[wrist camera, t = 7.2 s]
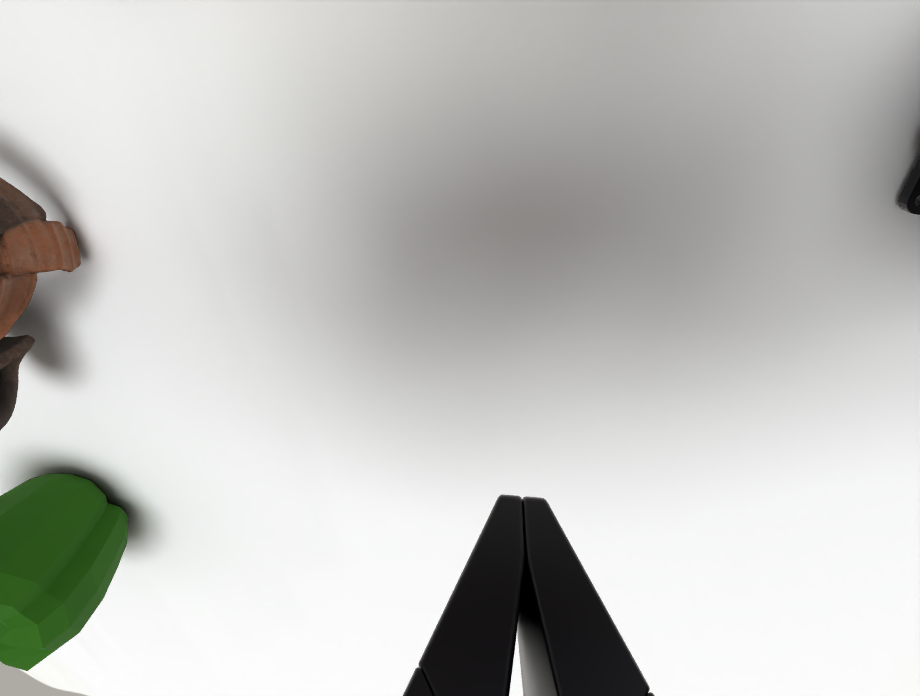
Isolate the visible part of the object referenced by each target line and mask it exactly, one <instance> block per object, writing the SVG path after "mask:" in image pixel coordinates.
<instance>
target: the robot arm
mask: <svg viewBox="0 0 920 696" xmlns="http://www.w3.org/2000/svg"><path fill="white" fill-rule="evenodd" d="M919 195H920V157H919V159H918V161H917V163H916V165H915V167H914V169H913V171H912V173H911V175H910V177H909V179H908V181H907V183H906V185H905V187H904V189H903V191H902V193H901V195H900V198H899V206H900V207H901V208H902V209H903V210H905V211H907V212H910V213H913V214H918V215H920V201H919V202H917V203H915V201H916V198H917V197H918V196H919ZM517 632H518V643H519V654H520V664H521V674H522V685H523V695H524V696H654V694H653V693H651V692H650V693H648V692H649V689H650V688H649V686H648V684H647V682H646V680H645V678H644V676H643V675H642V673H641V671H640V669H639V667H638V666H637V664H636V662H635V660H634V658H633V657H632V655H631V653H630V651H629V649H628V647H627V646H626V644H625V642H624V640H623V638H622V637H621V635H620V633H619V631H618V629H617V628H616V626H615V624H614V622H613V620H612V618H611V617H610V615H609V613H608V611H607V609H606V608H605V606H604V604H603V602H602V600H601V598H600V597H599V595H598V593H597V591H596V589H595V588H594V586H593V584H592V582H591V580H590V579H589V577H588V575H587V573H586V571H585V569H584V568H583V566H582V564H581V562H580V560H579V559H578V557H577V555H576V553H575V551H574V550H573V548H572V546H571V544H570V542H569V540H568V539H567V537H566V535H565V533H564V531H563V530H562V528H561V526H560V524H559V522H558V521H557V519H556V517H555V515H554V513H553V511H552V510H551V508H550V506H549V504H548V503H547V501H546V500H545V499H544V498H537V497H524V498H523V499H521V497H520V496H513V495H500V496H499V497H498V499H497V501H496V503H495V505H494V507H493V509H492V511H491V513H490V516H489V518H488V520H487V522H486V524H485V526H484V528H483V530H482V532H481V534H480V536H479V538H478V541H477V543H476V545H475V547H474V549H473V551H472V553H471V555H470V557H469V559H468V561H467V564H466V566H465V568H464V570H463V572H462V574H461V576H460V578H459V580H458V582H457V584H456V586H455V589H454V591H453V593H452V595H451V597H450V599H449V601H448V603H447V605H446V607H445V609H444V611H443V614H442V616H441V618H440V620H439V622H438V624H437V626H436V628H435V630H434V632H433V634H432V637H431V639H430V641H429V643H428V645H427V647H426V649H425V651H424V653H423V655H422V657H421V659H420V662H419V668H416V669H415V671H414V673H413V675H412V678H411V680H410V682H409V684H408V686H407V688H406V690H405V692H404V694H403V696H509V691H510V683H511V674H512V666H513V658H514V650H515V642H516V633H517Z"/></svg>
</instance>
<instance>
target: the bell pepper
mask: <svg viewBox="0 0 920 696" xmlns="http://www.w3.org/2000/svg"><path fill="white" fill-rule="evenodd" d="M127 530H128V515H127V514H126V513H125V512H124V511H123V510H122V508H121V507H118V506H115V505H112V504H109V503H107V500H106V496H105V495H104V494H103V493H102V492H101V491H100V490H99V488H98V487H97V486H96V485H95V484H94V483H93V482H92V481H90V480H87V479H84V478H81V477H78V476H75V475H72V474H46V475H42V476H39V477H36V478H32V479H29V480H28V481H26V482H24V483H22V484H21V485H19V486H17V487H15V488H14V489H12V490H10V491H8V492H7V493H5V494H3V495H1V496H0V661H1V662H2V663H4V664H5V665H8V666H12V667H15V668H19V669H22V670H26V671H28V670H29V669H31V668H32V667H33V666H35V665H36V664H38V663H39V662H40V661H42V660H43V659H44V658H46V657H47V656H48V655H50V654H51V653H53V652H54V651H55V650H57V649H58V648H59V647H61V646H62V645H63V644H65V643H66V642H67V641H69V640H70V639H72V638H73V637H74V636H76V635H77V634H78V633H79V632H80V631H81V630H82V628H83V627H84V625H85V624H86V622H87V621H88V620H89V618H90V617H91V615H92V614H93V613H94V611H95V610H96V608H97V607H98V605H99V604H100V603H101V601H102V600H103V598H104V596H105V594H106V592H107V589H108V587H109V585H110V583H111V581H112V578H113V576H114V574H115V572H116V570H117V567H118V565H119V562H120V560H121V557H122V554H123V552H124V549H125V547H126V544H127Z"/></svg>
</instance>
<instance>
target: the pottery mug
mask: <svg viewBox="0 0 920 696" xmlns="http://www.w3.org/2000/svg"><path fill="white" fill-rule="evenodd" d="M80 264H81V260H80V253H79V249H78V245H77V241H76V237H75V234H74V232H73V231H72V230H71V229H69V228H68V227H65V226H63V225H62V223H61V222H58V221H46V213H45V211H44V210H43V209H42V207H41V206H40V205H38V204H37V203H35V202H34V201H33V200H31V199H30V198H29V197H28V196H26V195H25V194H23V193H22V192H21V191H20V190H18V189H17V188H15V187H14V186H12V185H11V184H9V183H8V182H6V181H5V180H3V179H2V178H0V430H1V429H2V428H3V427H4V426H5V425H6V424H7V422H8V421H9V419H10V417H11V416H12V413H13V411H14V408H15V404H16V398H17V390H18V370H19V365H20V362H21V361H22V359H23V357H24V356H25V354H26V353H27V352H28V351H29V350H30V349H31V347H32V346H33V344H34V342H35V340H34V339H33V338H32V337H31V336H29V335H24V336H17V337H5V336H6V334H7V333H8V332H9V330H10V329H11V327H12V326H13V324H14V323H15V322H16V320H17V319H18V317H20V316H21V314H22V313H23V311H24V310H25V309H26V307H27V305H28V303H29V301H30V300H31V297H32V295H33V292H34V289H35V285H36V282H37V273H38V272H48V271H54V270H63V271H67V272H72V271H73V270H74V269H75V268H76V267H78V266H79V265H80Z"/></svg>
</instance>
